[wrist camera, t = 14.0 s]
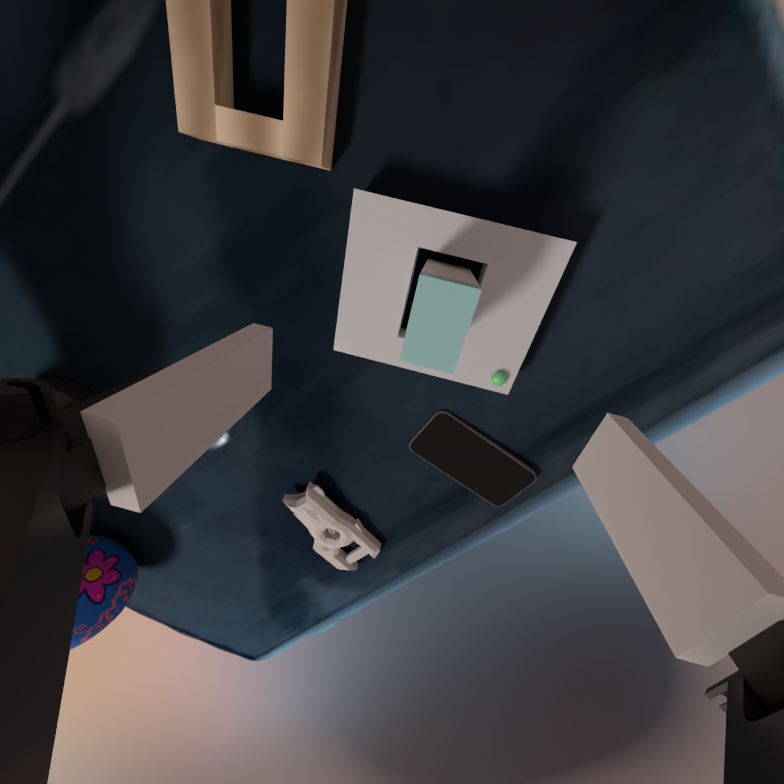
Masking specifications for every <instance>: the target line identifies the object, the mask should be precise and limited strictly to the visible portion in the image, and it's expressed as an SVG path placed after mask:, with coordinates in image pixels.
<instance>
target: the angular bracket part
mask: <svg viewBox="0 0 784 784" xmlns="http://www.w3.org/2000/svg"><path fill="white" fill-rule="evenodd" d="M282 501H283V502H284V503H285V505H286V506H287V507H288V508H290V509H291V510H292V511H293V512H294V513H293V514H294V515H295V516H296V517H297V518H298V519H299V520H300V521H301V522H302V523H303V524H304V525H305V526H306V527H307V528H308V529H309V532H310V533H311V535H312V536H313V537H314V539H315V540H314V546H313V549H314V550H315V551H316V552H318V553H319V554H320V555H321V556H322V557H324V558H325V559H326V560H327V561H329V562H330V563H331V564H332V565H334V566H335V567H336V568H337V569H342V570H357V567H358V563H357V562H356V561H357V560H359V559H360V558H362V557H364V556H365V555H367V554H370V555H371V556H372V557H373V558H375V557H376V556H377V554H378V553H379V551H380V548H381V543H380V542H379V541H378V540H377V539H376V538H375V537H374V536H373V535H372V534H371V533H370V532H368V531H367V530H366V529H365V528H364V527H363V525H362V523H361V522H360V520H359V519H358V518H357V520H355V519H354V518H353V517H352V516H350V515H349V514H347V513H345V512H344V511H342V510H341V509H340V508H339V507H338V506H337V505H335V504H334V503H333V502H332V501H331V500H330V499H329V498H328V497H327V496H326V495H325V493H324V490H323V489H321V488H320V487H319V486H318V485H314V484H312V483H311V482H309V484H308V486H307V491H305V492H303V493H299V494H285V495H284V497H283V499H282ZM352 541H355V542H356V543H357V544H359V545H360V546H359V547H357V548H356V549H354V550H353V551H351V552H350V553H348V554H347V553H346V552H345V551H343V550H342V549H341V548H340V547H344V546H347V545H349V544H350V543H351V542H352Z"/></svg>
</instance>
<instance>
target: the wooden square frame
mask: <svg viewBox="0 0 784 784" xmlns="http://www.w3.org/2000/svg"><path fill="white" fill-rule="evenodd" d="M166 7H167V18H168V28H169V38H170V49H171V59H172V69H173V80H174V90H175V100H176V111H177V121H178V131H179V132H181V133H184V134H186V135H189V136H192V137H195V138H198V139H201V140H205V141H209V142H213V143H217V144H221V145H226V146H230V147H234V148H238V149H242V150H247V151H251V152H255V153H259V154H263V155H267V156H272V157H276V158H280V159H284V160H288V161H292V162H297V163H301V164H305V165H309V166H313V167H317V168H322V169H326V170H330V171H331V167H332V156H333V146H334V135H335V125H336V114H337V103H338V93H339V82H340V72H341V61H342V51H343V40H344V30H345V19H346V9H347V0H287V17H286V49H285V81H284V113H283V121H282V120H278V119H273V118H269V117H265V116H261V115H256V114H252V113H248V112H244V111H239V110H235V109H234V97H233V62H232V27H231V0H166Z"/></svg>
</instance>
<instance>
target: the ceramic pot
mask: <svg viewBox="0 0 784 784" xmlns="http://www.w3.org/2000/svg"><path fill="white" fill-rule="evenodd" d="M137 578H138V567H137V564H136V561H135V560H134V558H133V556H132V554H131V553H130V552H129V551H128V550H127V549H126V548H125V547H124V546H123V545H122V544H120V543H118V542H117V541H115V540H113V539H110V538H107V537H104V536H98V535H90V534H89V540H88V545H87V551H86V557H85V563H84V569H83V575H82V581H81V587H80V593H79V598H78V604H77V610H76V616H75V622H74V628H73V634H72V640H71V646H70V649H73V648H75V647H77V646H79V645H81V644H82V643H84V642H85V641H87V640H89V639H91V638H92V637H93V636H95V635H96V634H97V633H99V632H100V631H101V630H103V629H104V628H105V627H106V626H107V625H109V624H110V623H111V622H112V621H113V620H114V619H115V618H116V617H117V616H118V615H119V614H120V613H121V612H122V610H123V609H124V607H125V606H126V604H127V603H128V601H129V599H130V597H131V595H132V593H133V591H134V588H135V585H136V581H137Z"/></svg>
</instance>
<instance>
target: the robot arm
mask: <svg viewBox="0 0 784 784" xmlns="http://www.w3.org/2000/svg"><path fill="white" fill-rule="evenodd" d="M272 333H273V328H270V327H266V326H262V325H259V324H255V323H253V324H251V325H249V326H247V327H245V328H243V329H241V330H239V331H237V332H235V333H233V334H232V335H230V336H228V337H226V338H224V339H222V340H220V341H218V342H216V343H214V344H212V345H210V346H208V347H206V348H204V349H202V350H200V351H198V352H196V353H194V354H192V355H190V356H188V357H186V358H184V359H183V360H181V361H179V362H177V363H175V364H173V365H171V366H169V367H167V368H160V369H156V370H152V371H148V372H144V373H141V374H139V375H137V376H135V377H133V378H131V379H129V380H126V381H125V383H120V384H118V385H116V386H114V387H112V388H111V390H106V391H104V392H102V393H100V394H98V395H95V394H94V393H92V392H91V391H89V390H88V389H86V388H84V387H82V386H81V385H78V384H76V383H74V382H71V381H68V380H65V379H61V378H44V379H40V380H35V379H30V378H7V379H0V784H47V781H48V775H49V769H50V764H51V757H52V752H53V746H54V740H55V734H56V728H57V722H58V716H59V710H60V705H61V699H62V693H63V687H64V680H65V675H66V669H67V663H68V657H69V652H70V646H71V640H72V634H73V628H74V622H75V616H76V610H77V604H78V598H79V593H80V587H81V581H82V575H83V569H84V563H85V557H86V551H87V545H88V540H89V534H90V528H91V522H92V516H93V510H94V508H93V503H92V500H91V498H92V497H94V496H95V495H96V494H98V493H99V492H100V491H101V490H103V489H104V488H105V489H106V492H107V495H108V498H109V501H110V504H111V505H113V506H117V507H120V508H124V509H128V510H131V511H135V512H139V513H141V512H142V511H143V510H144V509H145V508H146V507H148V506H149V505H150V504H151V503H152V502H153V501H154V500H155V499H156V498H157V497H158V496H159V495H160V494H161V493H162V492H163V491H164V490H165V489H166V488H168V487H169V486H170V485H171V484H172V483H173V482H174V481H175V480H176V479H177V478H178V477H179V476H180V475H181V474H182V473H183V472H184V471H185V470H187V469H188V468H189V467H190V466H191V465H192V464H193V463H194V462H195V461H196V460H197V459H198V458H199V457H200V456H201V455H202V454H203V453H204V452H205V451H207V450H208V449H209V448H210V447H211V446H212V445H213V444H214V443H215V442H216V441H217V440H218V439H219V438H220V437H221V436H222V435H223V434H224V433H226V432H227V431H228V430H229V429H230V428H231V427H232V426H233V425H234V424H235V423H236V422H237V421H238V420H239V419H240V418H241V417H242V416H243V415H244V414H246V413H247V412H248V411H249V410H250V409H251V408H252V407H253V406H254V405H255V404H256V403H257V402H258V401H259V400H260V399H261V398H262V397H263V396H264V395H266V394H267V393H268V392H269V391H270V390H271V372H272ZM572 468H573V469H574V471H575V473H576V475H577V477H578V479H579V480H580V482H581V484H582V486H583V488H584V489H585V491H586V493H587V495H588V497H589V499H590V501H591V503H592V504H593V506H594V508H595V510H596V512H597V514H598V515H599V517H600V519H601V521H602V523H603V524H604V526H605V528H606V530H607V532H608V534H609V536H610V537H611V539H612V541H613V543H614V545H615V547H616V549H617V550H618V552H619V554H620V556H621V558H622V560H623V561H624V563H625V565H626V567H627V569H628V571H629V572H630V574H631V576H632V578H633V580H634V582H635V584H636V585H637V587H638V589H639V591H640V592H641V594H642V596H643V598H644V600H645V602H646V604H647V606H648V607H649V609H650V611H651V613H652V615H653V617H654V618H655V620H656V622H657V624H658V626H659V628H660V629H661V631H662V633H663V635H664V637H665V639H666V641H667V642H668V644H669V646H670V648H671V650H672V651H673V653H674V655H675V657H676V658H678V659H682V660H686V661H689V662H693V663H697V664H700V665H704V666H708V667H709V666H711V665H712V664H714V663H715V662H717V661H718V660H720V659H722V658H723V657H725V656H727V655H728V654H729V655H730V657H731V658H732V660H733V661H734V663H735V664H736V666H737V667H738V668H739V671H737V672H735V673H733V674H732V675H730V676H728V677H726V678H725V679H723V680H721V681H720V682H718V683H716V684H715V685H713V686H711V687H709V688H708V689H707V690H706V692H705V696H707V697H708V698H709V699H712V698H714V697H716V696H718V695H724V696H726V697H727V702H726V703H724V704H722V705H720V706H719V707H720V708H721V709H722V710H723V711H724V712H725V713H726V739H725V762H724V784H784V578H783V577H782V576H781V575H780V574H779V573H778V572H777V571H776V570H775V569H774V568H773V567H772V566H771V565H770V564H769V563H768V562H767V561H766V560H765V559H764V558H763V556H762V555H761V554H760V553H759V552H758V551H757V550H756V549H755V548H754V547H753V546H752V545H751V544H750V543H749V542H748V541H747V540H746V539H745V538H744V537H743V536H742V535H741V534H740V533H739V532H738V531H737V530H736V529H735V528H734V527H733V526H732V525H731V524H730V523H729V522H728V521H727V520H726V519H725V518H724V517H723V516H722V514H720V512H718V510H716V508H715V507H714V506H713V505H712V504H711V503H710V502H709V501H708V500H707V499H706V498H705V497H704V496H703V495H702V494H701V493H700V492H699V491H698V490H697V489H696V488H695V487H694V486H693V485H692V484H691V483H690V482H689V481H688V480H687V479H686V478H685V477H684V476H683V474H682V473H681V472H680V471H679V470H678V469H677V468H676V467H675V466H674V465H673V464H672V463H671V462H670V461H669V460H668V459H667V458H666V457H665V456H664V455H663V454H662V453H661V452H660V451H659V450H658V449H657V448H656V447H655V446H654V445H653V444H652V443H651V442H650V441H649V440H648V438H647V437H646V436H645V435H644V434H643V433H642V432H641V431H640V430H639V429H638V428H637V427H636V426H635V425H634V424H633V423H632V422H631V421H630V420H629V419H628V418H625V417H621V416H617V415H614V414H610V413H607V415H606V416H605V418H604V419H603V421H602V422H601V424H600V425H599V427H598V428H597V430H596V431H595V433H594V435H593V436H592V438H591V439H590V441H589V442H588V444H587V445H586V447H585V448H584V450H583V451H582V453H581V454H580V456H579V457H578V459H577V461H576V462H575V464H574V465H573V467H572Z"/></svg>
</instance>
